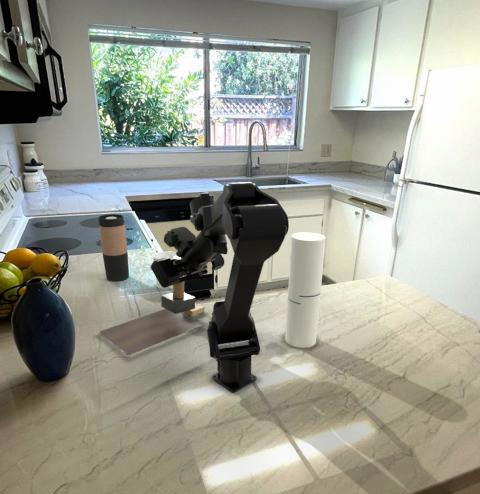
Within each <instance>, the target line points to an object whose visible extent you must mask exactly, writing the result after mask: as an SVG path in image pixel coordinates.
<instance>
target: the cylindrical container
mask: <svg viewBox="0 0 480 494" xmlns="http://www.w3.org/2000/svg"><path fill="white" fill-rule="evenodd" d="M326 240H327V237H326V235H324V234H321V233H318V232H310V231H301V232H300V231H299V232H294V233H293V234H291V239H290V252H289V253H290V255H289V271H288V272H289V274H288V285H287V287H288V289H287V304H286V320H285V337H284V340H285V342H286V343H287V344H288V345H289V346H291V347H294V348H299V349H306V348H311V347H313V346H314V345H315V344H316V343H317V335H318V334H317V333H318V326H319V325H318V323H319V313H320V303H321V302H320V301H321V294H322V293H321V291H322V283H323V282H322V281H323V271H324V262H325V261H324V260H325V249H326Z"/></svg>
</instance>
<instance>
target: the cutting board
mask: <svg viewBox="0 0 480 494" xmlns="http://www.w3.org/2000/svg"><path fill="white" fill-rule="evenodd" d="M200 327H202V325H201V324H199V323H198V322H196V321H194V320H192V319H191V318H189V317H187V316H186V315H183V314H182V313H177V314H175V313H173V312H171V311H169V310H167V309H165V308H163V309H161V310H157V311H155V312H153V313H152V312H151V313H149V314H147V315H143V316H140V317H137V318H134V319H131V320H129V321H126V322H122V323H119V324H116V325H114V326H111V327H107V328H105V329H102V330H100V331H98V333H99V334H100V335H101V336H103V337H104V338H105V339H106V340H108V341H109V342H110V343H111V344H112V345H113V346H115V347H116V348H118V349H119V350H120V351H121V352H123V354H125V355H126V356H130V355H132V354H134V353H137V352H140V351H142V350H145V349H147V348H150V347H152V346H154V345H157V344H160V343H162V342H164V341H168V340H170V339H172V338H175V337H177V336H180V335H182V334H184V333H187V332H189V331H192V330H194V329H198V328H200Z"/></svg>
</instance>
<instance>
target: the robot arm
mask: <svg viewBox="0 0 480 494" xmlns="http://www.w3.org/2000/svg"><path fill="white" fill-rule="evenodd" d="M189 207H190V208H189V209H190V213H191V215H190V216H189V221H190V223H191V224H192V225H193V226H194V229H195V230H196V232H199V233H198V234H197V236H196V235H195V234H194V233H193V232H192V231H191V230H190V229H188V227H186V226H179V227H174V228H171V229H170V230H167V232H166V233H164V235H163V243H164V244H165V245H166V246H167V247H169V248H174V249H175V250H176V251H175V252H176V255H177V256H178V258H179V257H180V258H181V259H179V260H176V261H175V260H174V259H172V260H171V259H170V258H168V257H164V258H161V259H157V260H154V261H152V262H151V264H150V269H151V271H152V273H153V274H154V277H155V279H156V278H157V280H158V281H159V283H160V285H161V286H162V287H163V288H164V289H167V288H169V286H171V285H174V284H178V283H181V282H184V281H185V282H186V281H189V280H191V279H194V278H198V277H201V276H204V275H207V274H208V273H209V271H208V268H209V267H208V263H211V265H212V267H211V270H212V271H213V272H214V271H218V270H220V269H222V268H223V267H224V266H225V258H224V257H223V255H228V252H229V251H228V250H229V249H228V241H227V239H228V240H229V242H230V245H231V249H232V252H233V258H232V262H231V268H230V272H229V277H228V283H227V287H226V293H225V296H224V300H221V301H215V302H214V304H213V306H212V313H211V319H210V321H209V322H208V326H207V329H206V334H207V340H208V341H207V342H208V347H209V357H210V358H213V359H215V362H216V363H217V368H216V369H217V373H214V374H213V375H212V376H211V377H212V378H211V379H212V380H213V381H215V382H216V383H218V384H220V385H221V386H222V387H224V388H225V389H227V390H228V391H229V392H231V393H236V392H238V391H240V390H241V389H243V388H245V387H247V386H248V385H250V384H252V383H253V382H256V381H257V379H258V377H257V375H254V374H253V373H252V361H253V360H252V358H253V356H259V355H260V351H261V344H260V341H259V337H258V332H257V328H256V324H255V319H254V318H253V316H252V312H251V308H252V305H253V302H254V299H255V295H256V292H257V288H258V285H259V280H260V278H261V274H262V271H263V268H264V264H265V262H266V261H267V260H269V259H270V258H271V257H273V256H274V255H275V254H276V253H278V252H279V250H280V249H281V247H282V245H283V243H284V240H285V239H286V236H287V234H288V232H289V227H290V223H289V221H290V220H289V216H288V214H287V213H286V211H285V209H284V208H283V206H282V205H281V204H280V202H279V200H278V199H276V198H275V197H273V196H271V195H269V194H268V193H266V192H264V191H262V190H261V189H260V188H259V186H258V184H256V183H253V182H251V181H243V182H229V183H227V184H224V185H223V188H222V193H221V194H220V195H219V196H218V198H217V199H216V200H215V199H214V197H212V196H211V195H210V193H209V192H201V193H200V194H199V196H196V197H194V198H193V199H192V200H191V201H190V202H189ZM184 276H185V277H184ZM185 282H184V283H185Z"/></svg>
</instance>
